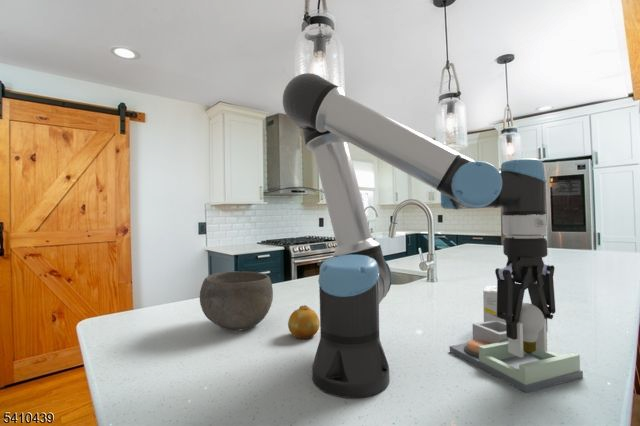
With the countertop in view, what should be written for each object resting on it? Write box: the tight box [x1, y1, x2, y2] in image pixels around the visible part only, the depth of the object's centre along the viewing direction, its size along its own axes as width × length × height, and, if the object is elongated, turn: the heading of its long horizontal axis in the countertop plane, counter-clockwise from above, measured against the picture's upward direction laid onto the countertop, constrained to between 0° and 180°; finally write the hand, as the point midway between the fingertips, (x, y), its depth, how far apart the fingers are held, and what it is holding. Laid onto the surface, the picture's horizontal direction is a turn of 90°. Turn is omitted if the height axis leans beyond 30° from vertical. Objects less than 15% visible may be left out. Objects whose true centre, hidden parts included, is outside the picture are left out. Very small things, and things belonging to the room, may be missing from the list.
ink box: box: [483, 285, 506, 323], centre depth 87 cm, size 9×8×12 cm
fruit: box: [287, 305, 320, 339], centre depth 87 cm, size 8×8×8 cm
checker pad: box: [466, 339, 491, 354], centre depth 72 cm, size 5×5×1 cm
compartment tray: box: [449, 320, 584, 393], centre depth 69 cm, size 15×19×6 cm
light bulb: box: [512, 302, 545, 354], centre depth 65 cm, size 6×6×10 cm
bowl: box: [199, 270, 274, 331], centre depth 96 cm, size 21×21×15 cm
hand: (527, 351), depth 65 cm, fingers closed on light bulb, 6 cm apart
